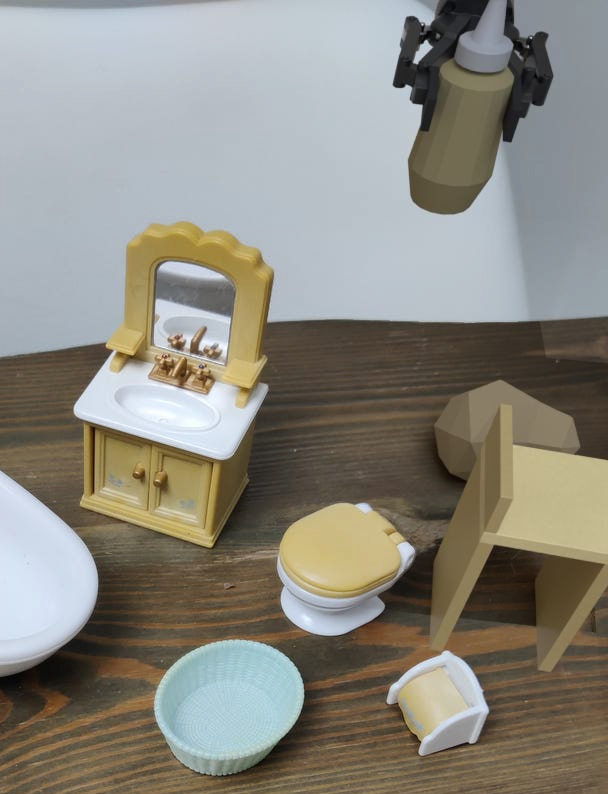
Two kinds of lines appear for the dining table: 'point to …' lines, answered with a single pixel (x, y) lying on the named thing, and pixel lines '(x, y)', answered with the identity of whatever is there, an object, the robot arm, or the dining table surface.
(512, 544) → the tan chair
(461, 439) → the low-poly potato
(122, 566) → the dining table surface
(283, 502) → the dining table surface
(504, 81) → the squeeze bottle
